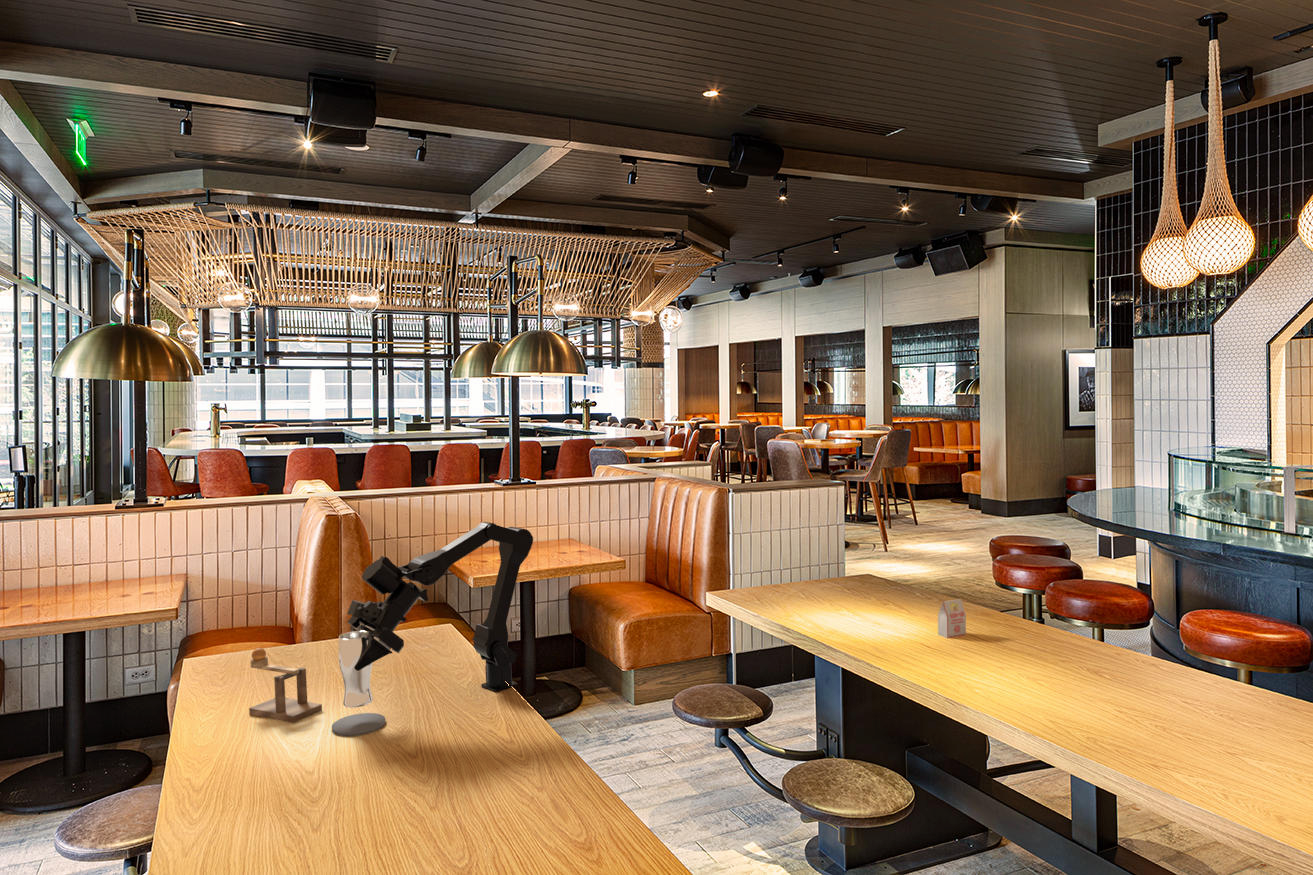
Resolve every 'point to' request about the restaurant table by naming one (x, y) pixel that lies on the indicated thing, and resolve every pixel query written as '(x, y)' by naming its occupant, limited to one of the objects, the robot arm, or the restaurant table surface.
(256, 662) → the toy catapult
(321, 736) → the restaurant table surface
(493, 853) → the restaurant table surface
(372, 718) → the mat
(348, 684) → the beer glass
